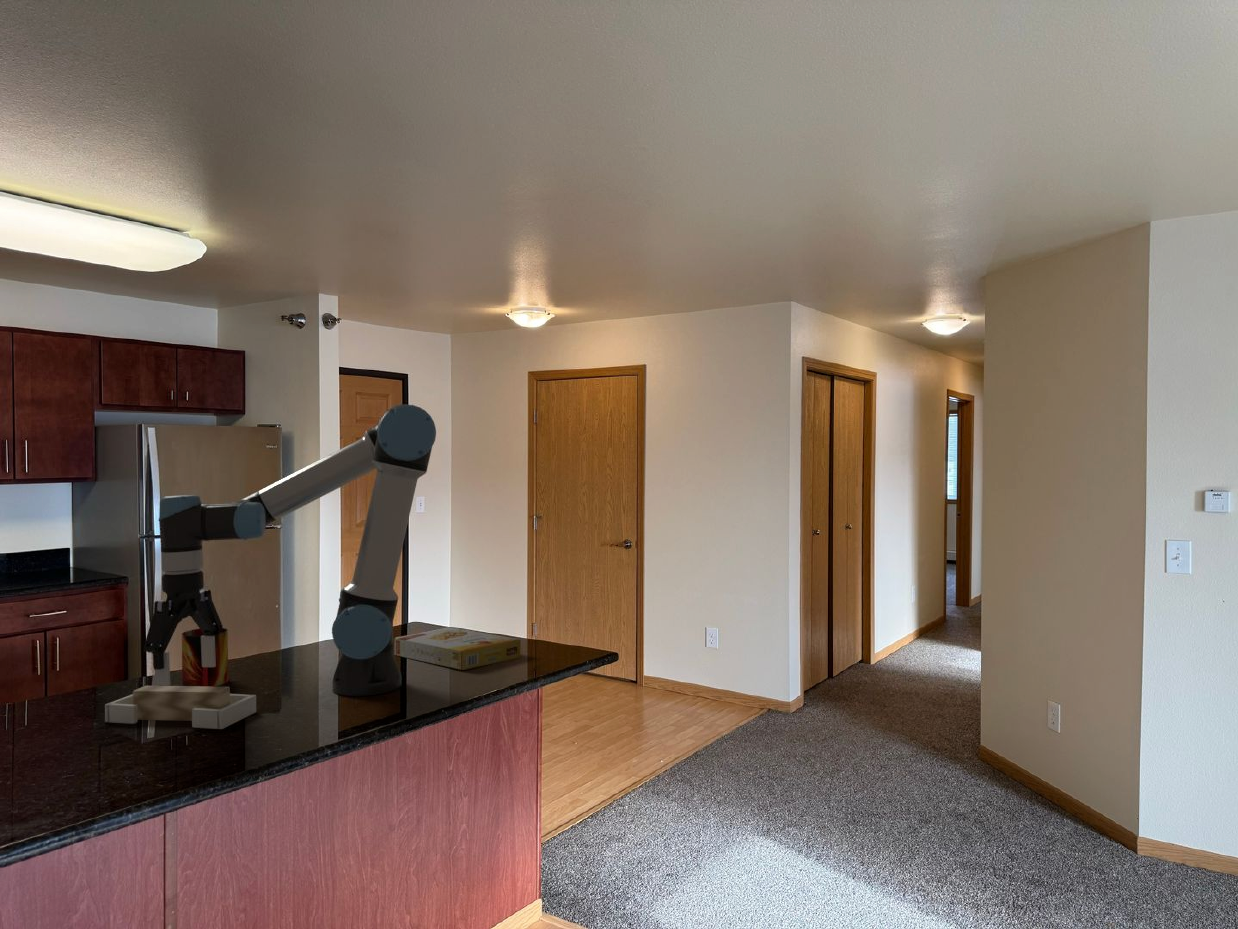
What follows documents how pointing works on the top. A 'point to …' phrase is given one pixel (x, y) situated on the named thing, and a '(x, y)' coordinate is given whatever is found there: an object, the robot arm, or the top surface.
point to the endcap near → (225, 712)
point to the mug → (193, 660)
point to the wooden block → (177, 701)
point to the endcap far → (121, 711)
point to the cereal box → (457, 648)
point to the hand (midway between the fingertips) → (186, 675)
